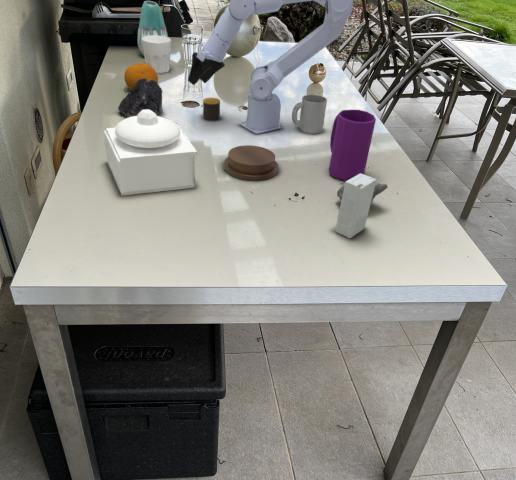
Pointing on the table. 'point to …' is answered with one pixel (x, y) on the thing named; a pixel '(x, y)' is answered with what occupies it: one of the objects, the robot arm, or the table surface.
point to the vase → (150, 23)
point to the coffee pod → (211, 109)
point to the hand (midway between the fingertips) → (196, 81)
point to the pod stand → (251, 163)
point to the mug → (350, 143)
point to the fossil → (377, 190)
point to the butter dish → (149, 155)
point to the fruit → (139, 74)
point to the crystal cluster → (142, 99)
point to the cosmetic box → (355, 205)
